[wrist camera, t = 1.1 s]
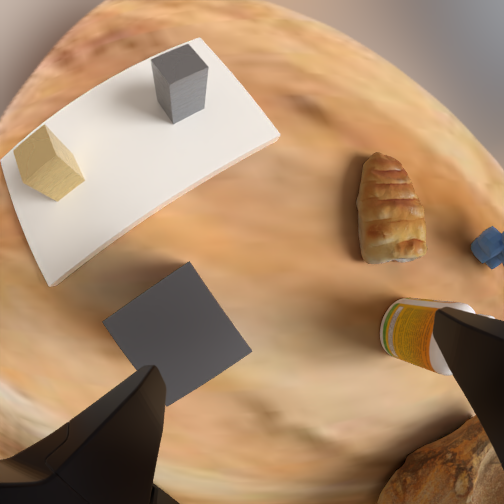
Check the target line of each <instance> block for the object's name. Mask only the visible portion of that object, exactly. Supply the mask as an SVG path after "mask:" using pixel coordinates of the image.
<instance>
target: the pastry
mask: <svg viewBox="0 0 504 504" xmlns="http://www.w3.org/2000/svg"><path fill="white" fill-rule="evenodd" d="M361 178H362V179H361V183H360V190H359V195H358V198H357V200H356V206H357V208H358V233H359V242H360V248H361V255H362V257H363V260H364V261H365V262H366V263H368V264H380V263H385V262H389V261H392V260H395V261H398V262H409V261H413V260H414V259H416V258H420V257H422V256H424V255H425V254H426V251H427V246H426V242H425V241H426V224H425V221H424V208H423V206H422V204H421V203H420V201H419V198H418V196H417V195H416V193H415V191H414V188H413V185H412V182H411V180H410V178H409V176H408V174H407V172H406V171H405V170H404V168H403V167H402V165H401V163H400V162H399V161H397V160H396V159H394V158H392V157H389V156H387V155H383V154H381V153H378V152H376V153H374V154H373V155H371V156H370V158H369V159H368V160H367V161H366V162H365V163H364V164H363V170H362V176H361Z"/></svg>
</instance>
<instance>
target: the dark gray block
mask: <svg viewBox="0 0 504 504" xmlns="http://www.w3.org/2000/svg"><path fill="white" fill-rule="evenodd" d="M103 324H104V326H105V327H106V329H107V330H108V331H109V333H110V334H111V336H112V337H113V339H114V340H115V342H116V343H117V344H118V346H119V347H120V349H121V350H122V351H123V353H124V354H125V355H126V357H127V358H128V360H129V361H130V362H131V363H132V365H133V366H134V367H135V369H136V370H139V369H140V368H141V367H143V366H146V365H155V366H157V368H158V369H159V371H160V374H161V376H162V378H163V380H164V382H165V384H166V389H167V391H166V401H165V405H166V406H169V405H171V404H172V403H174V402H176V401H177V400H179V399H181V398H182V397H184V396H185V395H187V394H189V393H190V392H192V391H193V390H195V389H197V388H198V387H200V386H201V385H203V384H205V383H206V382H208V381H209V380H211V379H212V378H214V377H215V376H217V375H218V374H220V373H221V372H223V371H224V370H226V369H227V368H229V367H230V366H232V365H233V364H235V363H236V362H238V361H239V360H241V359H242V358H244V357H245V356H247V355H248V354H249V353H251V352H252V350H251V348H250V347H249V346H248V344H247V343H246V342H245V340H244V339H243V337H242V336H241V335H240V333H239V332H238V330H237V329H236V328H235V326H234V325H233V323H232V322H231V321H230V319H229V318H228V316H227V315H226V314H225V312H224V311H223V309H222V308H221V307H220V305H219V304H218V302H217V301H216V299H215V298H214V297H213V295H212V294H211V292H210V291H209V289H208V288H207V286H206V285H205V283H204V282H203V280H202V279H201V278H200V276H199V275H198V273H197V272H196V270H195V269H194V267H193V266H192V264H191V263H190V261H189V262H187V263H186V264H185V265H183V266H182V267H180V268H179V269H177V270H176V271H174V272H173V273H171V274H170V275H168V276H167V277H165V278H164V279H163V280H161V281H160V282H158V283H157V284H155V285H154V286H152V287H151V288H149V289H148V290H147V291H145V292H144V293H142V294H141V295H139V296H138V297H137V298H135V299H134V300H132V301H131V302H129V303H128V304H127V305H125V306H124V307H122V308H121V309H119V310H118V311H117V312H115V313H114V314H112V315H111V316H110V317H108V318H107V319H105V320H104V321H103Z"/></svg>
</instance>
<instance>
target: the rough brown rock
mask: <svg viewBox="0 0 504 504" xmlns="http://www.w3.org/2000/svg"><path fill="white" fill-rule="evenodd" d="M377 504H504V470H503V468H502V466H501V463H500V461H499V459H498V457H497V455H496V453H495V450H494V448H493V446H492V444H491V442H490V440H489V438H488V436H487V434H486V432H485V430H484V429H483V427H482V425H481V423H480V421H479V419H478V417H477V415H475V416H474V417H472V418H471V419H469V420H468V421H466V422H465V423H464V424H463V425H462V426H461V427H460V428H459V429H457V430H455V431H454V432H453V433H451V434H449V435H447V436H445V437H443V438H441V439H439V440H437V441H435V442H432V443H429V444H427V445H425V446H423V447H421V448H419V449H417V450H416V451H414V452H413V453H411V454H409V455H408V456H407V458H406V461H405V463H404V465H403V466H402V467H401V468H399V469H398V470H396V472H395V473H394V474H393V476H392V477H391V478H390V480H389V481H388V483H387V484H386V486H385V487H384V489H383V490H382V491H381V493H380V496H379V499H378V502H377Z"/></svg>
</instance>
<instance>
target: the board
mask: <svg viewBox="0 0 504 504" xmlns="http://www.w3.org/2000/svg"><path fill="white" fill-rule="evenodd" d="M186 44H189V45H190V46H191V47H192V48H193V49H194V51H195V52H196V53H197V54H198V55H199V56H200V58H201V59H202V60H203V61H204V62H205V63H206V65H207V66H208V67H209V69H208V78H207V87H206V97H205V108H204V109H202V110H200V111H198V112H196V113H194V114H192V115H191V116H189V117H187V118H185V119H183V120H181V121H179V122H177V123H175V124H173V123H172V122H171V120H170V119H169V117H168V116H167V114H166V113H165V111H164V110H163V108H162V107H161V106H160V104H159V103H158V101H157V96H156V90H155V84H154V78H153V72H152V66H151V59H153V58H155V57H157V56H159V55H161V54H164V53H166V52H168V51H171V50H173V49H176V48H178V47H180V46H183V45H186ZM44 124H45V125H46V126H47V127H48V128H49V129H50V130H51V131H52V133H53V134H54V135H55V136H56V137H57V138H58V139H59V140H60V141H61V142H62V143H63V144H64V145H65V146H66V147H67V148H68V149H69V150H70V152H71V153H72V154H73V156H74V158H75V160H76V162H77V164H78V166H79V168H80V171H81V173H82V175H83V177H84V179H85V181H84V182H82V183H81V184H80V185H78V186H77V187H76V188H75V189H73V190H72V191H71V192H69V193H68V194H67V195H65V196H64V197H63V198H62V199H60V200H59V201H58V202H57V201H55V200H53V199H52V198H50V197H48V196H46V195H44V194H42V193H41V192H39V191H37V190H35V189H33V188H32V187H30V186H28V185H26V184H24V183H23V181H22V178H21V175H20V172H19V169H18V166H17V163H16V159H15V156H14V153H13V150H14V149H15V148H16V147H18V146H19V145H20V144H21V143H22V142H23V141H24V140H26V139H27V138H28V137H29V136H30V135H32V134H33V133H34V132H35V131H36V130H38V129H39V128H40V127H41V126H43V125H44ZM279 137H280V133H279V132H278V131H277V129H276V128H275V127H274V125H273V124H272V123H271V121H270V120H269V119H268V117H267V116H266V115H265V113H264V112H263V111H262V110H261V108H260V107H259V106H258V104H257V103H256V102H255V101H254V99H253V98H252V97H251V96H250V94H249V93H248V92H247V91H246V90H245V88H244V87H243V86H242V85H241V84H240V82H239V81H238V80H237V79H236V78H235V76H234V75H233V74H232V73H231V72H230V70H229V69H228V68H227V67H226V66H225V65H224V64H223V62H222V61H221V60H220V59H219V58H218V57H217V56H216V54H215V53H214V52H213V51H212V50H211V49H210V48H209V47H208V46H207V45H206V43H205V42H204V41H203V40H202V39H201V38H200V37H199V38H196V39H194V40H191V41H188V42H186V43H183V44H181V45H178V46H176V47H173V48H171V49H168V50H166V51H164V52H161V53H159V54H157V55H155V56H153V57H150V58H148V59H146V60H144V61H142V62H140V63H138V64H136V65H134V66H132V67H130V68H128V69H126V70H124V71H122V72H120V73H119V74H117V75H115V76H113V77H111V78H110V79H108V80H106V81H104V82H103V83H101V84H99V85H98V86H96V87H94V88H93V89H91V90H89V91H88V92H86V93H85V94H83V95H82V96H80V97H78V98H77V99H75V100H74V101H72V102H71V103H69V104H68V105H67V106H65V107H64V108H62V109H61V110H60V111H58V112H57V113H55V114H54V115H53V116H51V117H50V118H49V119H47V120H46V121H45V122H43V123H42V124H41V125H40V126H38V127H37V128H36V129H35V130H33V131H32V132H31V133H30V134H29V135H27V136H26V137H25V138H24V139H23V140H22V141H20V142H19V143H18V144H17V145H16V146H15V147H14V148H13V149H11V150H10V151H9V152H8V153H7V154H6V155H5V156H4V157H3V158H2V159H1V160H0V162H1V165H2V169H3V173H4V176H5V180H6V183H7V187H8V190H9V193H10V196H11V199H12V202H13V205H14V208H15V211H16V213H17V216H18V219H19V222H20V224H21V227H22V229H23V232H24V234H25V237H26V239H27V241H28V244H29V246H30V248H31V251H32V253H33V255H34V257H35V259H36V262H37V264H38V266H39V268H40V270H41V272H42V274H43V276H44V278H45V280H46V282H47V284H48V286H49V287H51V286H57V285H58V284H59V283H60V282H62V281H63V280H64V279H65V278H67V277H68V276H69V275H70V274H72V273H73V272H74V271H75V270H77V269H78V268H79V267H81V266H82V265H83V264H84V263H86V262H87V261H88V260H90V259H91V258H92V257H94V256H95V255H96V254H98V253H99V252H100V251H102V250H103V249H104V248H106V247H107V246H108V245H110V244H111V243H113V242H114V241H115V240H117V239H118V238H120V237H121V236H122V235H124V234H125V233H127V232H128V231H129V230H131V229H132V228H134V227H135V226H137V225H138V224H140V223H141V222H143V221H144V220H145V219H147V218H148V217H150V216H151V215H153V214H154V213H156V212H157V211H159V210H160V209H162V208H164V207H165V206H167V205H168V204H170V203H171V202H173V201H174V200H176V199H177V198H179V197H181V196H182V195H184V194H185V193H187V192H189V191H190V190H192V189H193V188H195V187H197V186H198V185H200V184H202V183H203V182H205V181H207V180H208V179H210V178H212V177H213V176H215V175H217V174H218V173H220V172H222V171H224V170H225V169H227V168H229V167H230V166H232V165H234V164H236V163H238V162H239V161H241V160H243V159H245V158H246V157H248V156H250V155H252V154H254V153H256V152H257V151H259V150H261V149H263V148H265V147H267V146H269V145H270V144H272V143H274V142H276V141H277V140H278V138H279Z"/></svg>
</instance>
